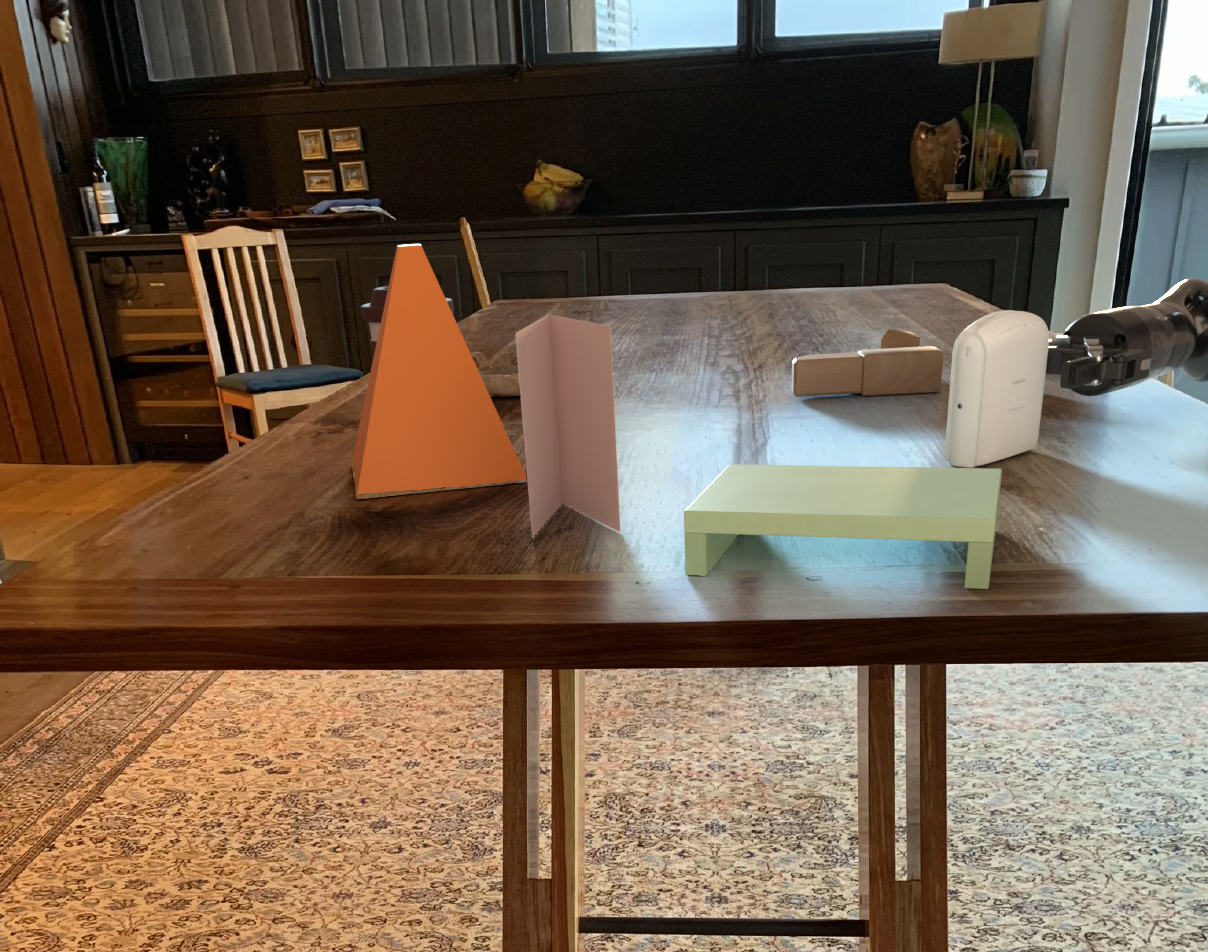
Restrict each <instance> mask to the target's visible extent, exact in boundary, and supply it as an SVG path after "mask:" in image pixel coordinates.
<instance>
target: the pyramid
mask: <svg viewBox="0 0 1208 952" xmlns="http://www.w3.org/2000/svg"><path fill="white" fill-rule="evenodd" d="M388 286H389V287H388V292H387V296H386V301H385V306H384V311H383V315H382V320H381V325H380V330H379V334H378V339H377V344H376V349H375V353H374V358H373V357H372V362H371V367H370V373H369V377H368V382H367V386H366V391H365V392H366V393H365V397H364V401H363V407H362V410H361V415H360V421H359V424H358V430H357V435H356V439H355V444H354V450H353V453H352V458H353V461H354V469H355V479H356V487H357V494H365V493H379V492H389V491H404V490H422V489H431V488H442V487H462V486H472V485H477V484H484V483H501V482H507V481H515V480H521V481H522V480H527V479H526V471H525V470H524V468H523V465H522V463H521V461H520V459H519V457H518V455H517V453H516V450H515V448H514V446H513V443H512V442H511V439H510V437H509V434H508V433H507V431H506V428H505V426H504V424H503V421H502V419H501V417H500V415H499V413H498V411H497V408H496V406H495V404H494V402H493V399H492V398H491V397H492V396H490V395H489V393H488V391H487V389H486V386H485V384H484V382H483V380H482V378H481V375H480V373H479V371H478V367H477V363H476V364H475V362H474V360H473V358H472V356H471V351H470V349H469V346H468V345H467V343H466V341H465V339H464V336H463V334H462V331H461V330H460V328H459V325H458V323H457V320H456V319H455V316H454V314H452V312H451V310H450V307H449V305H448V303H447V301H446V299H445V298H446V297H445V294H444V291H443V290H442V288H441V286H440V284H439V281H438V279H437V276H436V274H435V273H434V270H433V268H432V266H431V264H430V261H429V258H428V257H427V255H426V252H425V250H424V248H423V246H422V244H421V243H411V244H410V243H409V244H398V245H396V250H395V254H394V259H393V264H392V268H391V273H390V278H389V282H388Z"/></svg>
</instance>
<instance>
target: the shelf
mask: <svg viewBox="0 0 1208 952" xmlns="http://www.w3.org/2000/svg"><path fill="white" fill-rule="evenodd" d="M1002 473H1003V469H1002V468H983V467H982V468H981V467H980V468H977V467H974V468H965V467H919V466H918V467H917V466H916V467H915V466H914V467H911V466H910V467H909V466H855V465H854V466H851V465H797V464H796V465H792V464H791V465H790V464H789V465H786V464H784V465H783V464H780V465H779V464H728V465H727V467H725V469H723V471H722V472H721V473H720V474H719V475H717V477H716V478H715V479H714V480H713V481H712V482H711V483H710V484H709V485H707V487H706V488H705V489H704V490H703V491H702V492H701V493H700V494H699V495H698V496H697V497H696V498H695V499H694V500H693V501H692V502H691V504H690V505H689V506H687V507H686V508H685V510H684V511H683V519H684V520H683V522H684V523H683V525H684V527H683V528H684V530H683V531H684V567H685V568H684V570H685V571H684V573H685V576H686V575H699V576H698V577H707V576H708V575H709V574H710V572H711V571H712V569H713V568H714V567H715V566H716V565H717V563H718V562H719V561H720V560H721V558H722V557H723V555H724V554H725V553H726V552H727V551H728V549H729V548H730V546H731V545H732V544H733V543H734V542H735V540H736V539H737V538H738V536H740V535H748V536H749V535H750V536H775V537H803V538H804V537H807V538H831V539H832V538H836V539H861V540H863V539H865V540H866V539H867V540H893V541H894V540H895V541H896V540H897V541H923V542H924V541H926V542H951V543H952V542H955V543H956V542H957V543H967V553H966V554H967V555H966V564H965V575H964V587H963V588H964V589H974V590H975V589H976V590H977V589H978V590H989V587H990V581H991V571H992V564H993V558H994V557H993V556H994V547H995V539H996V533H997V532H996V531H997V523H998V512H999V502H1000V494H1001V483H1002ZM706 575H707V576H706Z"/></svg>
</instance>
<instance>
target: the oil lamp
mask: <svg viewBox="0 0 1208 952" xmlns="http://www.w3.org/2000/svg"><path fill="white" fill-rule="evenodd" d="M470 354H471V356H472V358H473V360H474V362H475V364H476V365H477V363H478V365H479V366H478V367H477V369H478V371H479V373H480V375H481V378H482V380H483V382H484V384H485V386H486V389H487V391H488V393H489V395H497V396H496V397H517V396H521V395H520V383H519V371H518V365H495V366H490V364H489V360H488V359H487V357H486V355H485V354H484V353H483V352H481V351H476V352H470Z"/></svg>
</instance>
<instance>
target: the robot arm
mask: <svg viewBox="0 0 1208 952" xmlns="http://www.w3.org/2000/svg"><path fill="white" fill-rule="evenodd" d="M1179 369H1180V370H1181V372H1183V373H1184V375H1185V376H1187V377H1188V378H1189V379H1191V380H1192V381H1194V382H1198V383H1199V382H1200V383H1205V382H1208V281H1206V280H1204V279H1202V278H1201V279H1200V278H1195V277H1191V278H1187V279H1184V280H1182V281H1180V282H1177V284H1175V285H1174V286H1172V287H1171V288H1170V289H1168V290H1167V292H1165V293H1164V294H1163V295H1162V296H1161V297H1160V298H1159V299H1158V300H1156V301H1154V302H1153V303H1150V304H1145V305H1130V306H1129V305H1128V306H1122V307H1116V308H1112V309H1107V310H1102V311H1101V310H1100V311H1097V312H1092V313H1088V314H1085V315H1082V316H1080V317H1079V318H1077V319H1075V320H1074V321H1073V322H1072V323H1071V324H1070V325H1068V327H1067V328H1066V329H1065V331H1063V334H1062V335H1054V336H1052V337H1051V338H1049V347H1048V356H1047V365H1046V374H1045V380H1050V381H1052V382H1059V386H1060V389H1066V390H1067V389H1068V390H1071V391H1073V392H1074V393H1075V394H1078V395H1080V396H1084V397H1097V396H1101V395H1105V394H1109V393H1112V392H1113V393H1114V392H1116V391H1119V390H1123V389H1126V388H1127V389H1128V388H1131V387H1134V386H1137V385H1140V384H1142V383H1144V382H1146V381H1148V380H1150V379H1153V378H1158V377H1162V376H1165V375H1168V374H1171V373H1173V372H1175V371H1176V370H1179Z"/></svg>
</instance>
